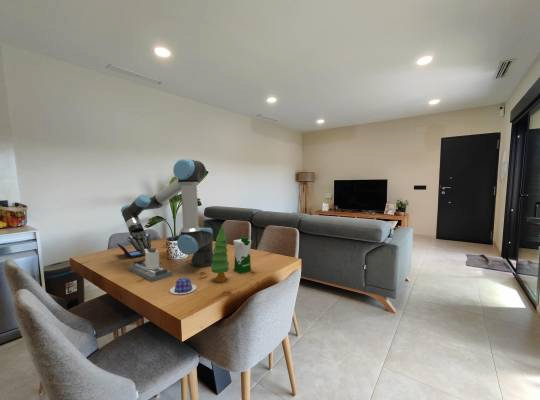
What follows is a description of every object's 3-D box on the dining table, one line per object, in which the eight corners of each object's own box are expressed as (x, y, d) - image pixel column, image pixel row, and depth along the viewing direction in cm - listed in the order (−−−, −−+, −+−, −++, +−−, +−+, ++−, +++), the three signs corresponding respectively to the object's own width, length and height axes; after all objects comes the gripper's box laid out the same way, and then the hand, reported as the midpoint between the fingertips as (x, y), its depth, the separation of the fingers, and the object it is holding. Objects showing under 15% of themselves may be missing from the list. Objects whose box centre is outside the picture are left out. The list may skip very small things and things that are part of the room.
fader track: (129, 270, 144) (128, 262, 144) (147, 265, 153) (147, 258, 153) (152, 281, 127) (151, 273, 127) (171, 275, 136) (171, 268, 135)
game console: (145, 256, 173) (145, 243, 173) (123, 260, 164) (122, 247, 163) (138, 252, 184) (137, 240, 184) (117, 255, 175) (116, 243, 174)
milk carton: (241, 274, 138) (241, 239, 137) (231, 270, 144) (231, 236, 143) (253, 270, 144) (253, 237, 143) (243, 267, 151) (243, 234, 149)
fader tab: (145, 270, 137) (144, 249, 136) (155, 267, 142) (155, 247, 141) (149, 272, 134) (148, 250, 133) (160, 269, 139) (159, 248, 138)
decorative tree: (232, 279, 130) (232, 223, 128) (218, 285, 123) (217, 225, 121) (221, 275, 136) (220, 221, 135) (206, 280, 129) (206, 223, 128)
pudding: (197, 284, 125) (197, 274, 125) (195, 294, 113) (195, 283, 113) (172, 286, 123) (172, 275, 122) (167, 296, 111) (167, 285, 110)
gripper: (144, 229, 155) (157, 260, 145) (121, 232, 145) (134, 266, 135) (147, 221, 151) (162, 253, 142) (125, 224, 141) (138, 258, 132)
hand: (148, 259), depth 139 cm, fingers closed
